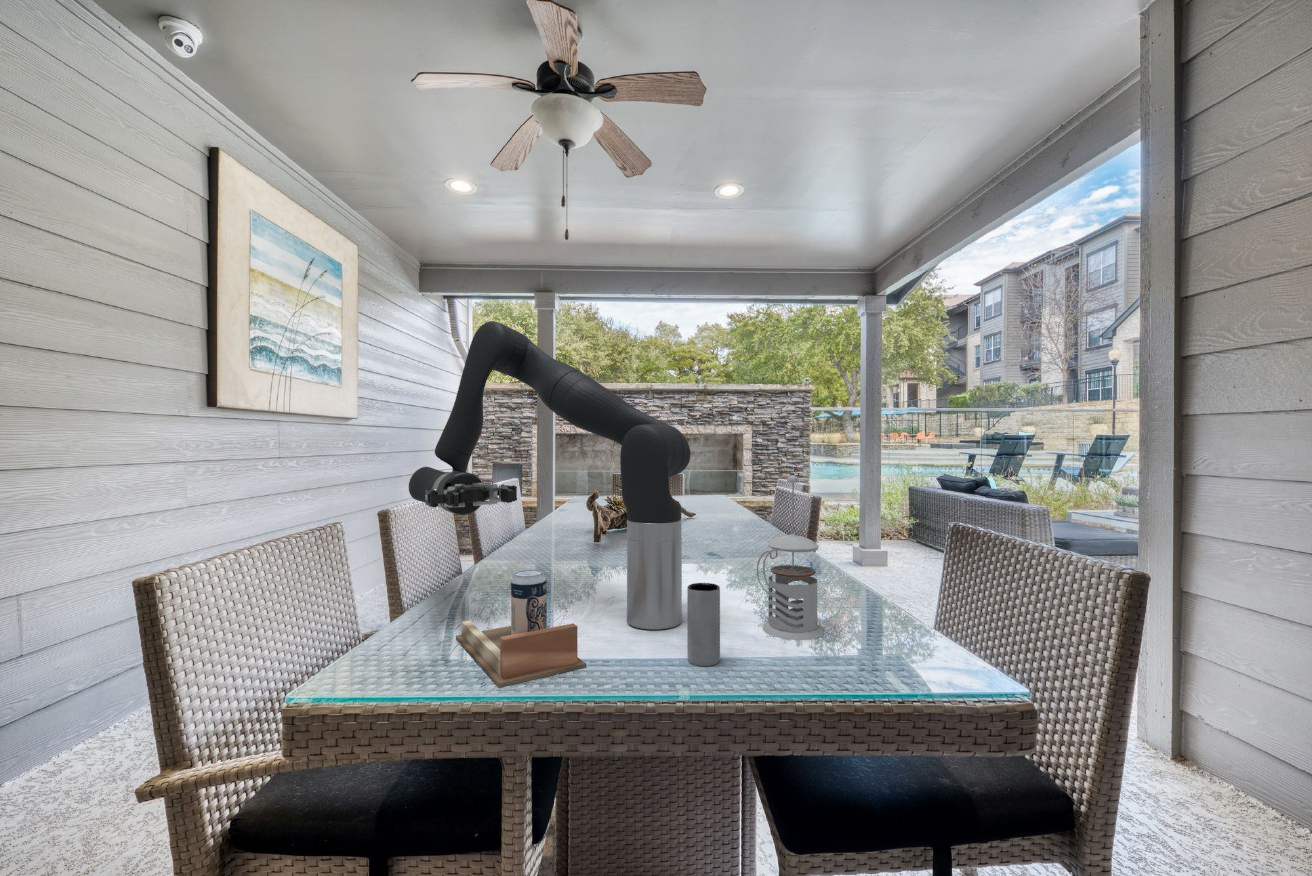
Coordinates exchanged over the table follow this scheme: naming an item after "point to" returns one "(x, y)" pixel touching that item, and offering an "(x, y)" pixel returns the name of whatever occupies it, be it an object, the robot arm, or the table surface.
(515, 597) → the beer can
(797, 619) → the french press
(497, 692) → the table surface
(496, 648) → the keeper track
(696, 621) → the gray cylindrical tube
